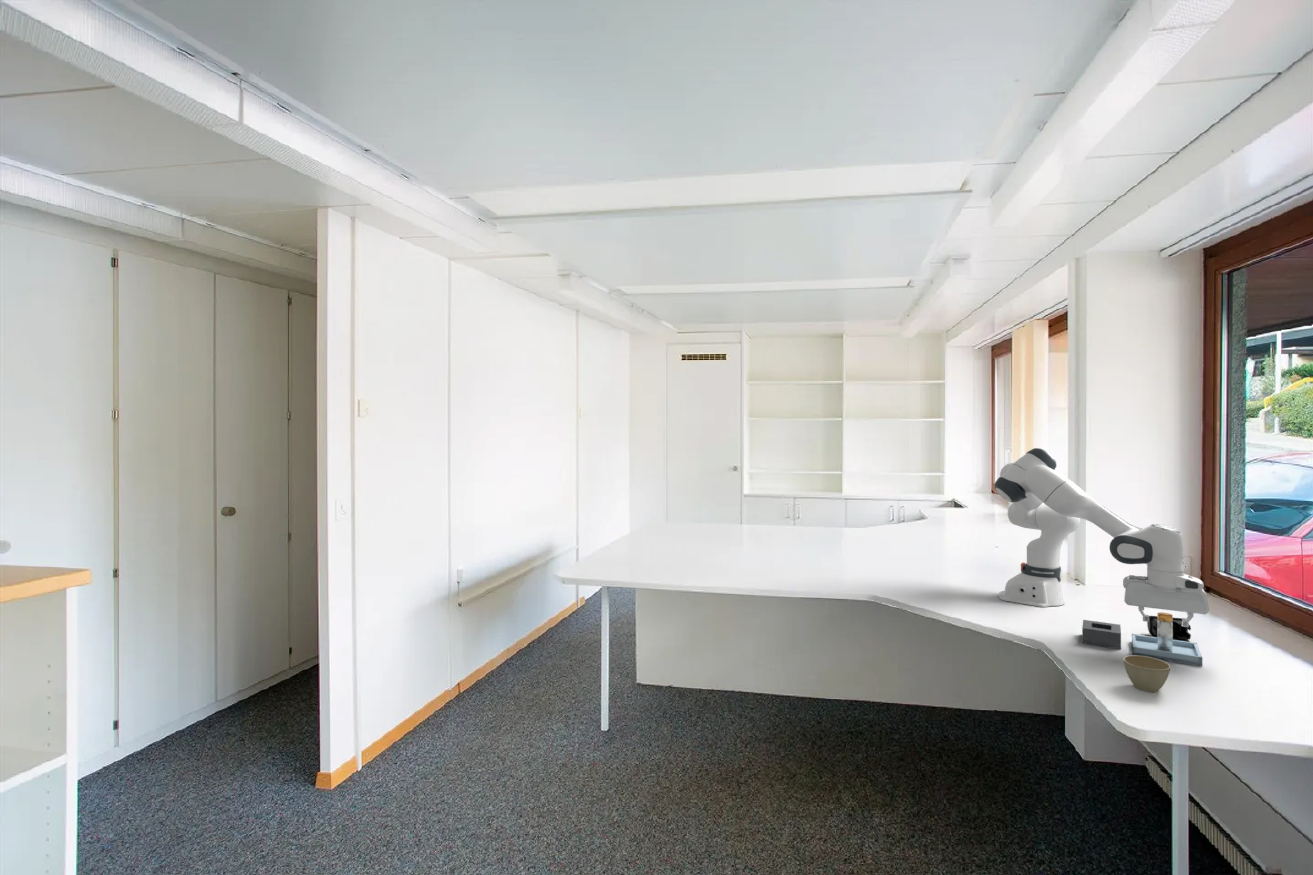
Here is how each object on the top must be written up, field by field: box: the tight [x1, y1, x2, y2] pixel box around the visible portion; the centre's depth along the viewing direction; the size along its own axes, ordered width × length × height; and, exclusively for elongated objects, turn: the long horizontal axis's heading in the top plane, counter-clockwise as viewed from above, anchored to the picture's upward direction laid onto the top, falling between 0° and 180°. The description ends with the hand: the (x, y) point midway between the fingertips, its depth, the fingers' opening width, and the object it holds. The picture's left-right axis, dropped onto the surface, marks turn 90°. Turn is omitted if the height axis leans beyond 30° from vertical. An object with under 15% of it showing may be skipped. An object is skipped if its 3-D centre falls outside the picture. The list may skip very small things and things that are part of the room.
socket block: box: [1081, 619, 1122, 650], centre depth 206 cm, size 10×10×5 cm
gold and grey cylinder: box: [1156, 611, 1174, 652], centre depth 196 cm, size 4×4×11 cm
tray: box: [1131, 633, 1203, 667], centre depth 196 cm, size 16×14×2 cm
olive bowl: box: [1123, 654, 1171, 693], centre depth 171 cm, size 10×10×7 cm
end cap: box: [1146, 615, 1192, 642], centre depth 208 cm, size 10×7×7 cm
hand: (1165, 623), depth 195 cm, fingers open, 8 cm apart
